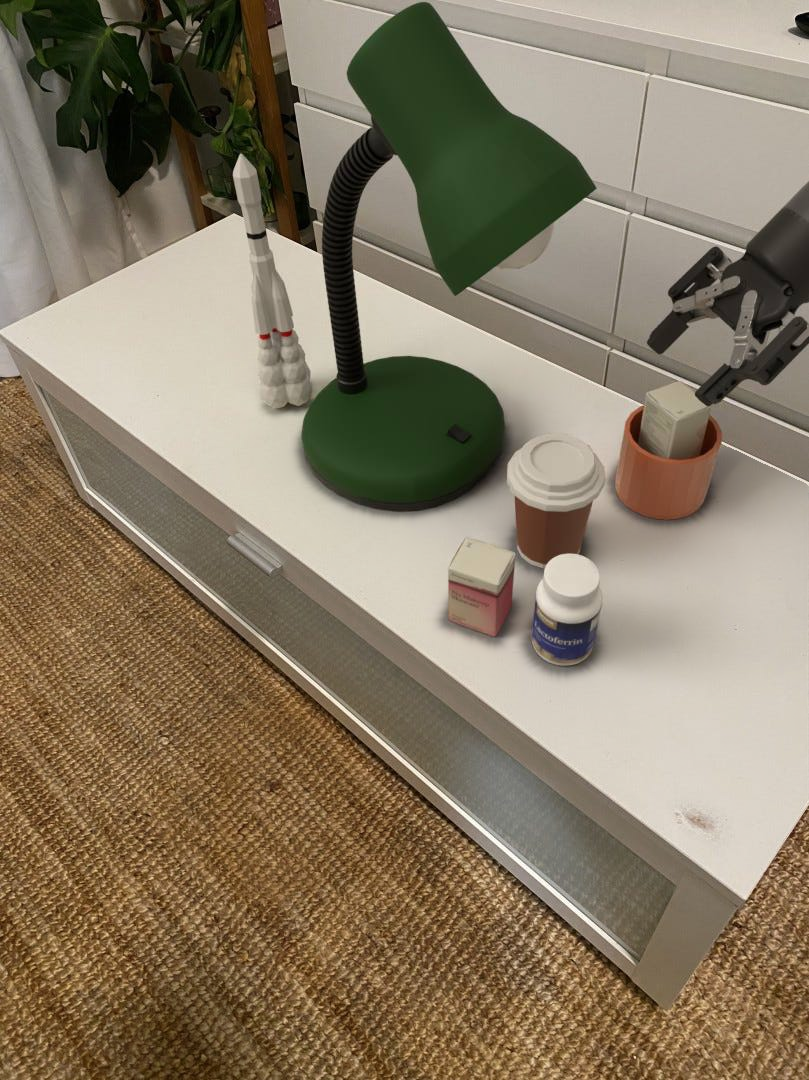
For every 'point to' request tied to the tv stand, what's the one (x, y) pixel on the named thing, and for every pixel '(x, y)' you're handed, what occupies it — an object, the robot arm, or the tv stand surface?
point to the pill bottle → (567, 610)
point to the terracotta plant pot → (664, 474)
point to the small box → (480, 586)
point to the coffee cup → (553, 495)
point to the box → (673, 422)
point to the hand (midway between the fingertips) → (676, 374)
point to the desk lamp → (457, 253)
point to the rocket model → (270, 305)
